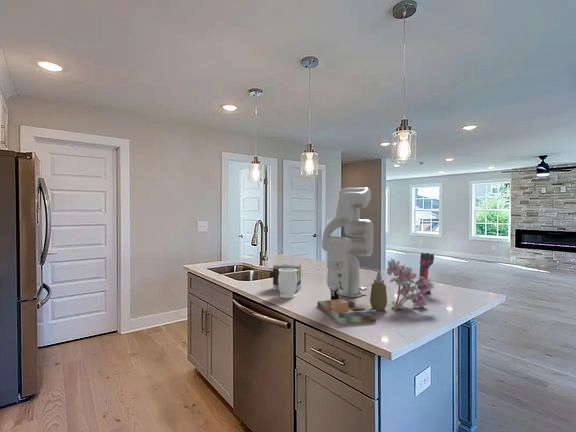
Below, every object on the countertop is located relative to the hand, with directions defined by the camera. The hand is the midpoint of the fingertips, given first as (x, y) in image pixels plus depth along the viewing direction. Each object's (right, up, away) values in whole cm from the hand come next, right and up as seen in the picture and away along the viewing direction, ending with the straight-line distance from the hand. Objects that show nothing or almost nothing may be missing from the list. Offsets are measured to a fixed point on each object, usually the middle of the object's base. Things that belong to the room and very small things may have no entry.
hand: (334, 304), depth 150 cm
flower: (+39, -4, +9) cm, 40 cm away
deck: (+5, -4, -1) cm, 6 cm away
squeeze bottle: (+22, -4, +5) cm, 23 cm away
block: (+1, -1, -5) cm, 5 cm away
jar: (-22, -3, +26) cm, 34 cm away
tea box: (-22, -3, +42) cm, 48 cm away
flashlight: (+59, -4, +39) cm, 71 cm away
